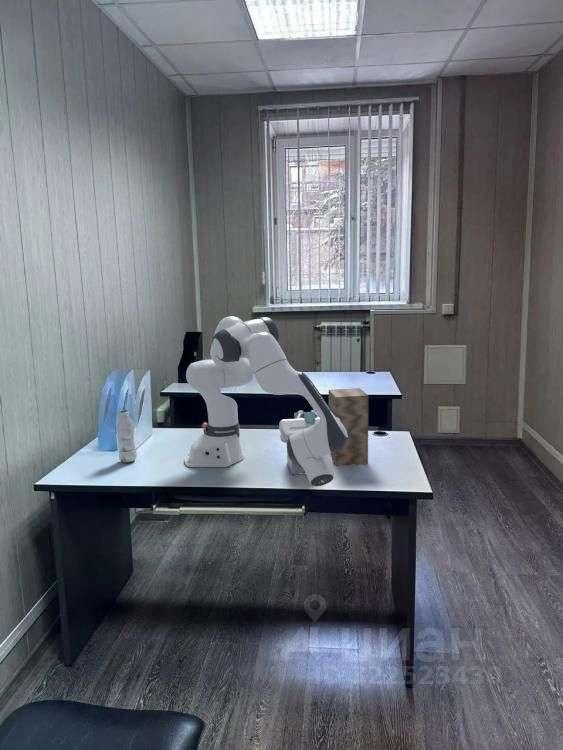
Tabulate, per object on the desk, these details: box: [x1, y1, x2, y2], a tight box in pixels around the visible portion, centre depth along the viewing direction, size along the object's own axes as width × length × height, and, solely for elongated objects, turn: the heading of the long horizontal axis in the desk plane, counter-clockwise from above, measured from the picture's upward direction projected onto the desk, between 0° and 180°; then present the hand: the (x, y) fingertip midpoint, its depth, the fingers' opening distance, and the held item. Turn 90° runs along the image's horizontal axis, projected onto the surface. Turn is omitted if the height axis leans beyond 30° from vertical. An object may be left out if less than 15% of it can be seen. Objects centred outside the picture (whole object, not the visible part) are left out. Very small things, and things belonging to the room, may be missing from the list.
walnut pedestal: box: [328, 387, 369, 467], centre depth 202 cm, size 12×12×26 cm
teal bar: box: [293, 411, 316, 422], centre depth 190 cm, size 3×26×3 cm, turn 8°
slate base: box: [286, 450, 306, 475], centre depth 196 cm, size 10×12×16 cm
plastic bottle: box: [115, 409, 138, 464], centre depth 207 cm, size 6×7×20 cm
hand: (306, 411), depth 184 cm, fingers closed on teal bar, 3 cm apart
